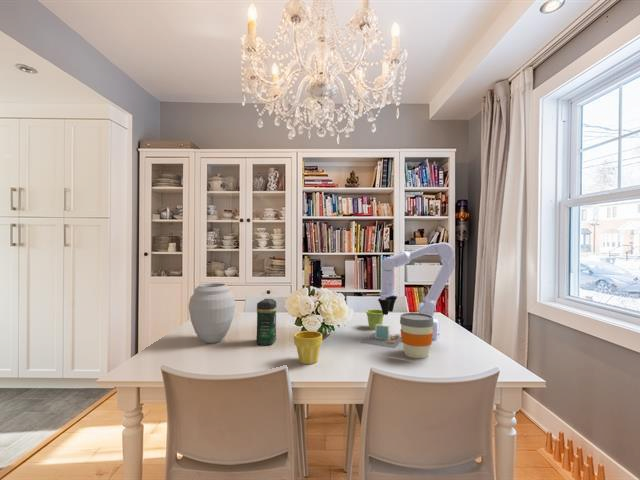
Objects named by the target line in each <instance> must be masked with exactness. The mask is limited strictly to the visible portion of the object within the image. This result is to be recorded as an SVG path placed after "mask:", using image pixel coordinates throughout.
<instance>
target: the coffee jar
mask: <svg viewBox="0 0 640 480" xmlns="http://www.w3.org/2000/svg"><path fill="white" fill-rule="evenodd" d="M276 340H277V301H276V300H275V299H274V298H264V299H262V300H261V301H258V302H257V303H256V344H257V345H261V346H267V345H268V346H269V345H273V344H274V343H275V342H276Z"/></svg>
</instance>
